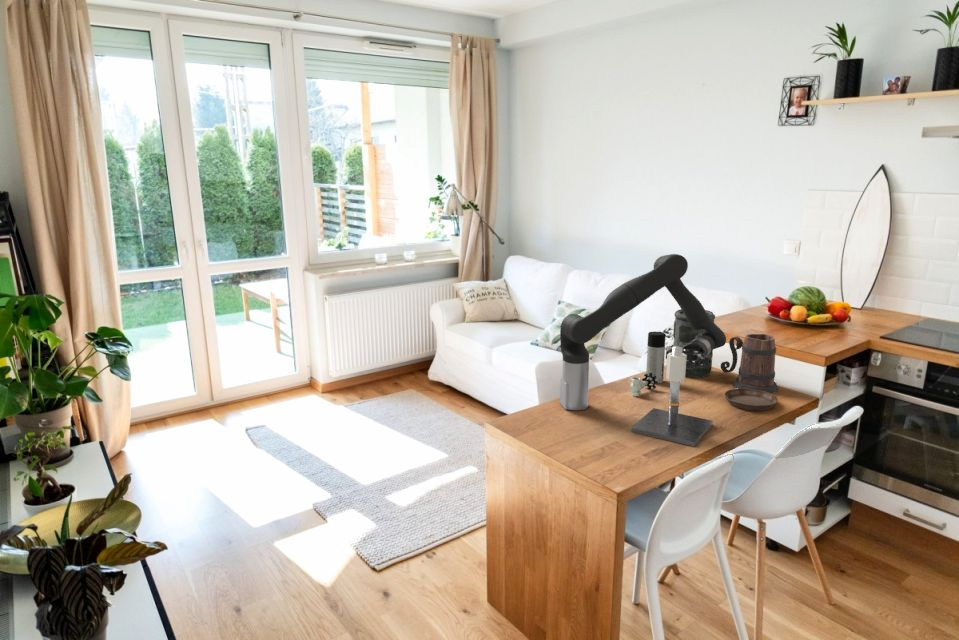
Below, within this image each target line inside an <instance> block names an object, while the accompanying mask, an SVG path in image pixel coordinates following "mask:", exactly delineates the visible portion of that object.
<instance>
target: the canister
mask: <svg viewBox="0 0 959 640" xmlns="http://www.w3.org/2000/svg"><path fill="white" fill-rule="evenodd" d="M705 311H706V313H707V315H708V316H709V318H710V319H711V320H712V321H713V322H714V323H715V319H716V315H715V314H714V313H713V311H710V310H707V309H705ZM674 319H675V320H674V321H673V333H672V335H673V336H672V337H673V345H672V347H673V346H681V347H682V350H683V348H684V346H685V345H687V344H688V343H689V342H691V341H692V340H694V339H695V337H696V336H697V335H699V334H701V333H704V332H706V331H707V330H705V329H701V330H695V329H693V328H692V327H691V325H690V323H689V321H688V320H687V318H686V316H685V314H684V313H683V311H682V309H681V308H680V309H677V310H676V311H675V312H674ZM713 351H714V350H713ZM713 351H712V352H711V353H710V354H713V353H714V352H713ZM712 364H713V361H712V362H711V363H710V365H708V366H706V365H705V364H703V365H700V366H698V367H694V364H691V363H689V362H687V361H686V373H685V377H692V378H705V377H708V376H710V375H711V373H712V369H713V367H712Z"/></svg>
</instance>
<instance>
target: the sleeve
mask: <svg viewBox="0 0 959 640" xmlns="http://www.w3.org/2000/svg"><path fill="white" fill-rule="evenodd" d="M686 358H687V355H685V354H684V353H682V356H678V357H677V356H672V352H671V353H668V354H667V359H666V369H665V370H666V372H665V379H666V380H668V381H675V382H679V381H680V382H684V381H685V380H686V376H685V373H686Z"/></svg>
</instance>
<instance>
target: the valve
mask: <svg viewBox="0 0 959 640" xmlns="http://www.w3.org/2000/svg"><path fill="white" fill-rule="evenodd" d="M648 377H651V378H652V379H653V380H651V379H647V378H648ZM656 378H657V377H656V376H652V373H649V376H648V374H646V373H645V374H644V375H643V378H640V377H639V376H638V377H637V376H634V377H631V378H630V385H629V389H630V392H629V395H630V394H631V395H630V396H631V397H636V396H638V397H640V396H642V395H641V393H642V392H641V390H643V389H644V388H645V387H647V389H648V390H649V389H650V390H652V389H653V390H654V389H657V387H656V386H657V385H658V382H657V381H655V379H656ZM652 381H653V383H652ZM639 395H640V396H639Z"/></svg>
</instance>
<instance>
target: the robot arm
mask: <svg viewBox="0 0 959 640" xmlns="http://www.w3.org/2000/svg"><path fill="white" fill-rule="evenodd" d="M688 266H689V264H688V260H687V258H686V257H684V255H681V254H676V253H671V254H665V255H661V256H659V257H657V259H655V261H654V263H653V269H652V270H650V271H648V272H646V273H644V274H642V275H639V276H637V277H634V278H632V279H629V280H627V281H626V282H624V283H622V284H621V285H619V286H618V287H616V288H614V289H613V290H612V291H611V292H609V293H608V295H607V296H606V298H605V299H604V301H603V302H602V304H601V305H600V306H599V307H598V309H597V308H596V310H594V311H593V312H591V313H589V314H587V315H586V316H581V315H578V314H577V313H576V314H574V313H571V314H567V315H566V316H565V317H564V318H563V319H562V320H561V321H562V322H561V324H560V329H559V338H560V351H561V354H562V378H561V379H560V380H559V381H560V383H559V385H560V386H559V390H560V391H559V393H560V394H559V405H561V407H563V409H564V410H568V411H569V410H570V411H582V410H586V409H588V407H589V405H588V404H589V375H590V374H589V372H590V353H589V351H588V349H587V348H586V345H585V344H586V343H588V342H589V341H591V340H592V339H594V338H595V337H596V336H598V334H599V333H601V332H602V331H603V330H604V329H606V328H607V326H609V325H611V324H612V323H614V322H615V321H616V320H618V319H620V318H621V317H623V316H624V315H626V314H627V313H629V312H630V311H631V310H633V309H634V308H637V306H639V305H641V303H643V302H644V301H645V302H646V300H648V299H649V298H650V297H651V296H653V295H654V294H656V293H657V292H658V291H659V290H661V289H663V288H664V287H665V288H666V290H667V291H668V292H669V293H670V295H671V296H672V297H673V299H674V300H675V301H676V303H677V304H678V305H679V308H680V309H682V311H683V313H684V314H685V316H686V318H687V320H688V321H689V323H690V325H691V327H692V328H693V329H695V330H701V329H705V330H707V331H706V332H704V333H701V334H699V335H697V336H696V337H695V339H694V340H692V341H691V342H689V343H688V344H687V345H685V346H684V348H683V350H682V353H684V354H685V355H687V358H686V361H687V362H689V363H691V364H694V367H698V366H700V365H703V364H705V365H706V366H708V365H710V363H711V362H712V363H713V356H714V355H713V354H710V353H711V352H712V351H714V350H717V349H718V348H721V347H724V346H725V345H726V343H727V337H726V335H725V332H724V331H723V330H722V329H721V328H720V326H718V325H717V324H716V323H715V321H714V322H713V321H712V320H711V319H710V318H709V316H708V315H707V313H706V311H705V310H706V309H705V308H704V305H703V304H702V303H701V301H700V300H699V299H698V298H697V297H696V296H695V295H694V294H693V293H692V292H691V291H690V290H689V289H688V288H687V286H686V285H685V284H684V283H683V281H682V280H681V278H683V277H684V275H686V273H687V272H688V269H689V267H688ZM671 352H672V348H670V349H668V350H665V359H666V360H667V354H668V353H671Z"/></svg>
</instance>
